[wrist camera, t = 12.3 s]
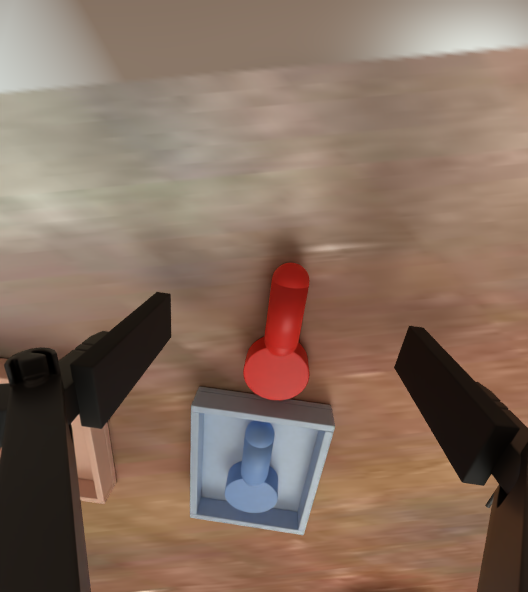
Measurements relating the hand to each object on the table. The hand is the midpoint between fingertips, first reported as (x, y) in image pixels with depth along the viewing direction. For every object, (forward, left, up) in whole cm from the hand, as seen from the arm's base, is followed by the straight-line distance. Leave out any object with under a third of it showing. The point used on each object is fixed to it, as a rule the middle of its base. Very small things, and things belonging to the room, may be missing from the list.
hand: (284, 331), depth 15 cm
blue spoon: (+13, 0, -3) cm, 14 cm away
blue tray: (+14, 0, -3) cm, 14 cm away
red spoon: (+1, 0, -3) cm, 3 cm away
